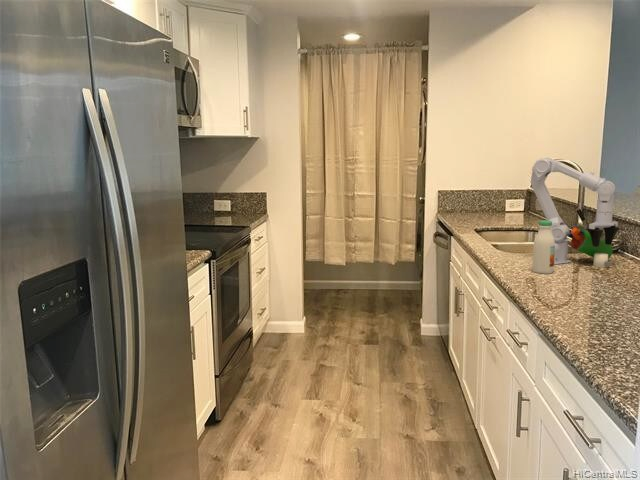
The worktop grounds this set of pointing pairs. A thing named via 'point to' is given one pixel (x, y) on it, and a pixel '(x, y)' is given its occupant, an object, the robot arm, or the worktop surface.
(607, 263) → the cream capsule with tab
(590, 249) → the green vase with flowers
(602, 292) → the worktop surface
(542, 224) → the milk bottle
